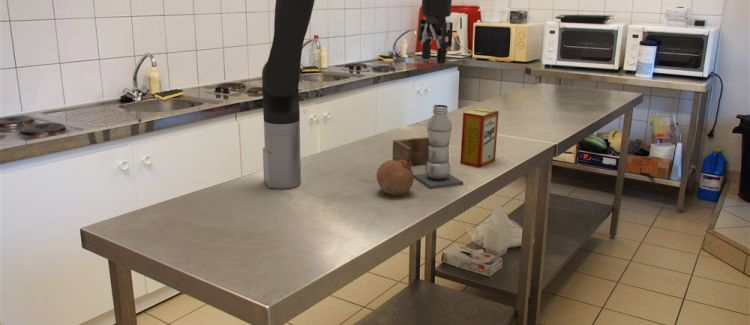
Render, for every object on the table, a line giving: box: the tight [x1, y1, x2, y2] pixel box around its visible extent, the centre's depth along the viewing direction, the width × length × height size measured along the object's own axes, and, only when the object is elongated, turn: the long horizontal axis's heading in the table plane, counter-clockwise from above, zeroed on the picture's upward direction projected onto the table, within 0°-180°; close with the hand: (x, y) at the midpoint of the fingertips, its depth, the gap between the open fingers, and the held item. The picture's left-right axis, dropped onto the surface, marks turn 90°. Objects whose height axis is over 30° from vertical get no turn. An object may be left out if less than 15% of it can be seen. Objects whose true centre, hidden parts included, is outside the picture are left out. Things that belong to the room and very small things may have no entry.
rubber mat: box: [413, 173, 464, 189], centre depth 169 cm, size 10×10×1 cm
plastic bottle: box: [425, 104, 453, 179], centre depth 166 cm, size 6×7×20 cm
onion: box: [376, 159, 415, 197], centre depth 158 cm, size 10×9×10 cm
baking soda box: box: [459, 107, 500, 169], centre depth 185 cm, size 10×6×16 cm
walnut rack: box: [391, 136, 429, 169], centre depth 178 cm, size 12×10×8 cm
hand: (433, 61), depth 161 cm, fingers open, 8 cm apart
